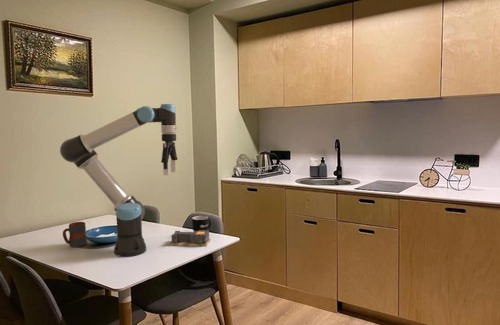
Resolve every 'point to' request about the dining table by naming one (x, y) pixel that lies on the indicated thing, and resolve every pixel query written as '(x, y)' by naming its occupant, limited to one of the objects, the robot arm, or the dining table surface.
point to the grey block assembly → (193, 239)
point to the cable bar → (186, 236)
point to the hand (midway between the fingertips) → (170, 173)
